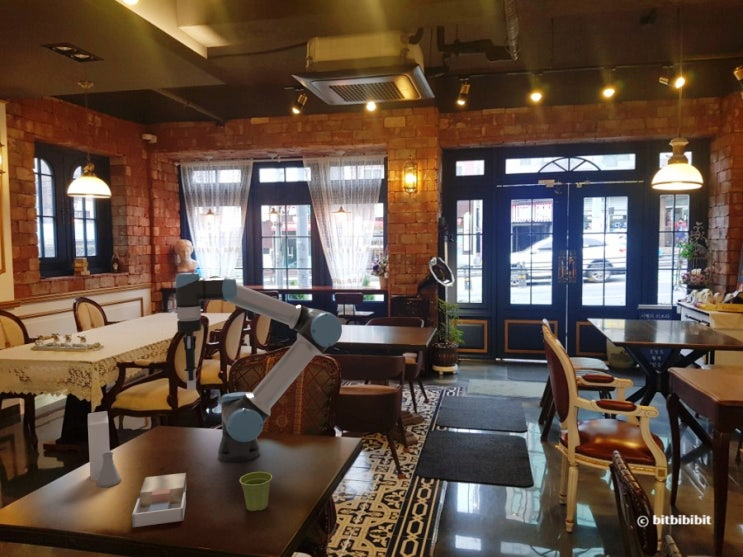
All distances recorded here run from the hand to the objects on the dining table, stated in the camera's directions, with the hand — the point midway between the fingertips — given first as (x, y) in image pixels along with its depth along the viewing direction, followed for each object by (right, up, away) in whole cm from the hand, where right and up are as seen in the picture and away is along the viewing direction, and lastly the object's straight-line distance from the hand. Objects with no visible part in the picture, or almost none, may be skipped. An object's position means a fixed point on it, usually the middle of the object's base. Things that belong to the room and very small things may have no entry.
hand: (191, 389), depth 186 cm
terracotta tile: (-1, -28, -22) cm, 36 cm away
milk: (-32, -30, +2) cm, 44 cm away
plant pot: (+27, -30, -23) cm, 46 cm away
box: (0, -31, -27) cm, 41 cm away
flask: (-26, -30, -3) cm, 40 cm away
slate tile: (0, -27, -29) cm, 40 cm away
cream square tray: (-3, -30, -16) cm, 34 cm away
